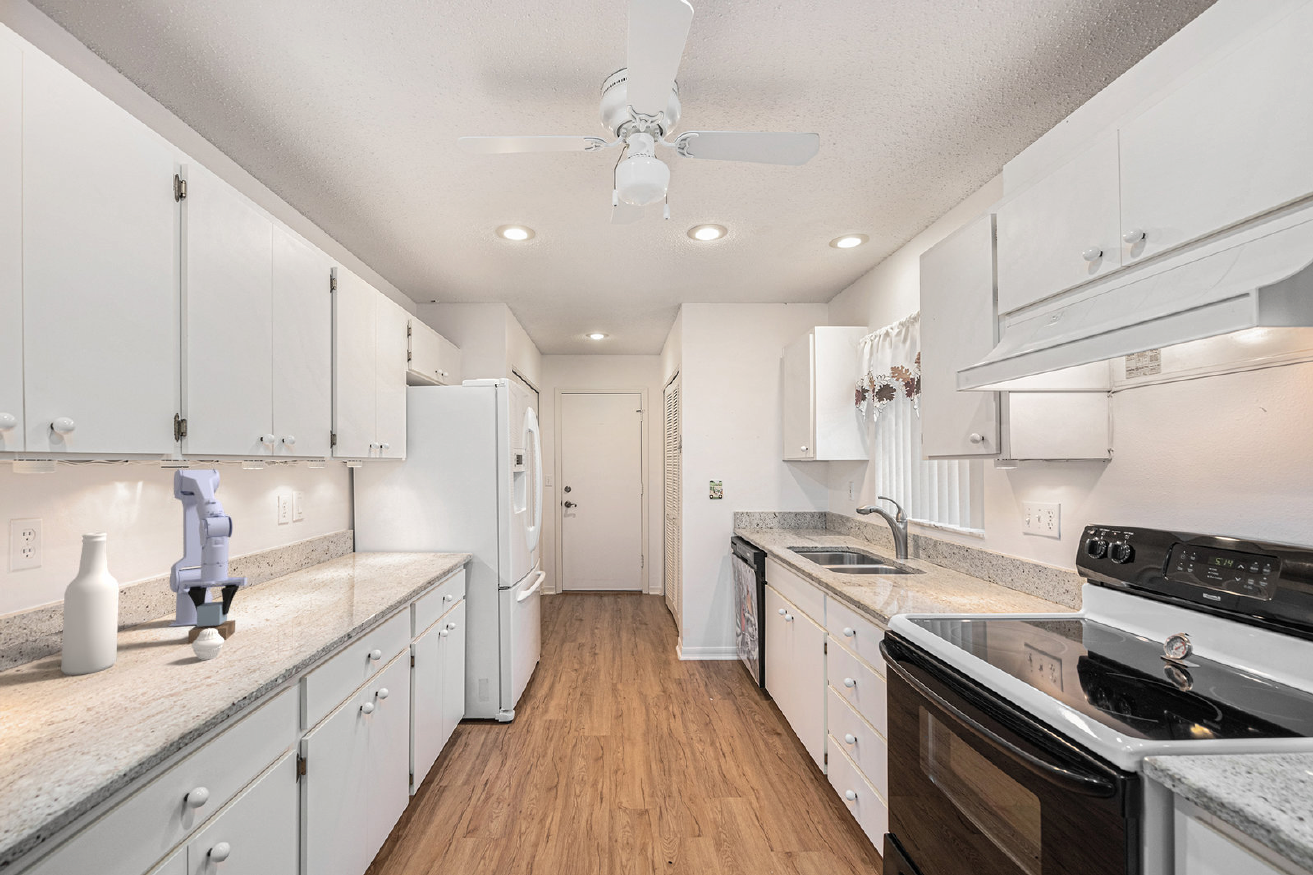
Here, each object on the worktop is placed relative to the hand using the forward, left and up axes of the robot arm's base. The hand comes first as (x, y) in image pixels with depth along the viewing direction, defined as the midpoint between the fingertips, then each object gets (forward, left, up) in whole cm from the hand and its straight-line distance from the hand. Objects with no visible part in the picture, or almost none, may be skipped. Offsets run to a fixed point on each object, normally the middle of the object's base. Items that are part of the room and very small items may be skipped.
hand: (213, 614), depth 155 cm
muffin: (+19, +6, -6) cm, 21 cm away
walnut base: (0, 0, -6) cm, 6 cm away
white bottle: (+20, -16, -6) cm, 26 cm away
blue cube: (+1, 0, -2) cm, 2 cm away
